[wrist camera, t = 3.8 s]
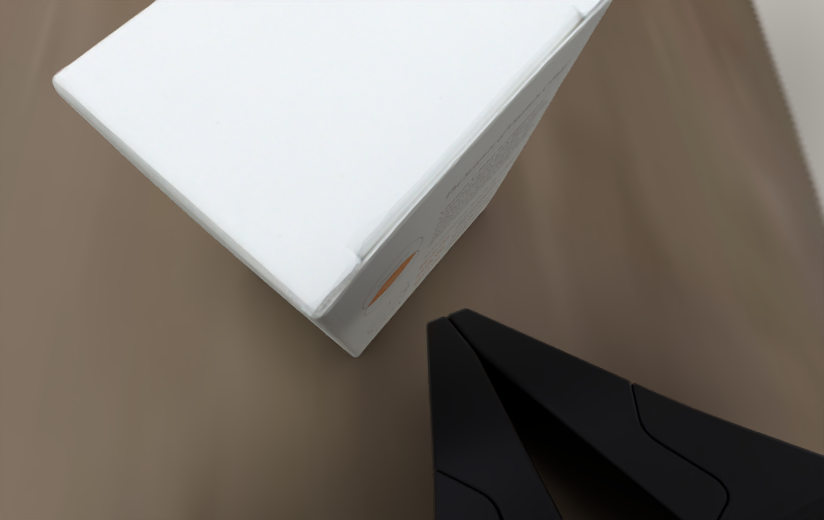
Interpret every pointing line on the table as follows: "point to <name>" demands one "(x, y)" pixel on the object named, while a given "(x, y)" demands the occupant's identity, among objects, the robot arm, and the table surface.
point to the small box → (331, 129)
